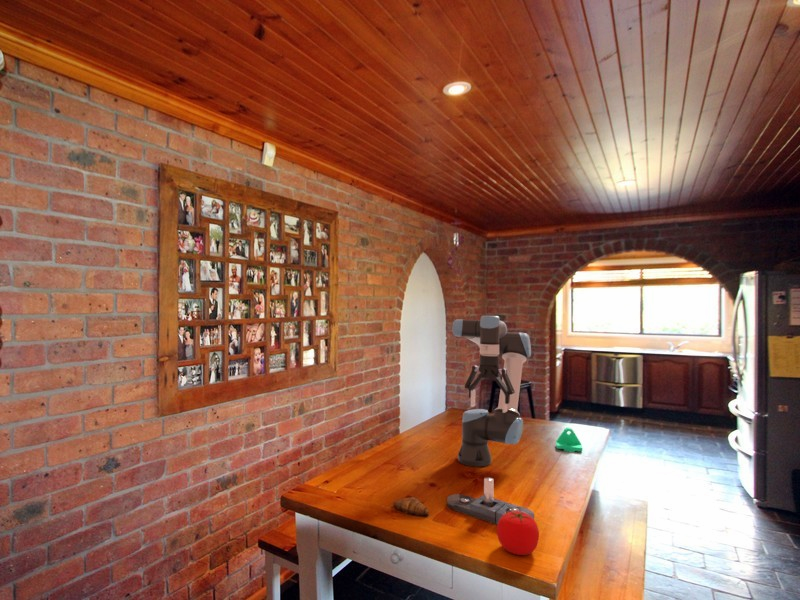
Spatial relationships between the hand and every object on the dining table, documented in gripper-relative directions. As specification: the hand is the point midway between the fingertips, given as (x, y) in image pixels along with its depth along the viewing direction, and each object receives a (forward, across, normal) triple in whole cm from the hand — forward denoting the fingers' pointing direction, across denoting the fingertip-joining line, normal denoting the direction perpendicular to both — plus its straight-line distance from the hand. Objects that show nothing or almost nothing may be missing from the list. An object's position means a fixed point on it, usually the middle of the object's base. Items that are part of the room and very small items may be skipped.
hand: (488, 409), depth 168 cm
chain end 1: (+31, +5, -20) cm, 37 cm away
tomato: (+31, +26, -34) cm, 53 cm away
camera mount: (+31, +11, +71) cm, 78 cm away
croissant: (+31, -12, -35) cm, 48 cm away
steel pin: (+31, +10, -20) cm, 38 cm away
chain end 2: (+31, +16, -20) cm, 40 cm away
